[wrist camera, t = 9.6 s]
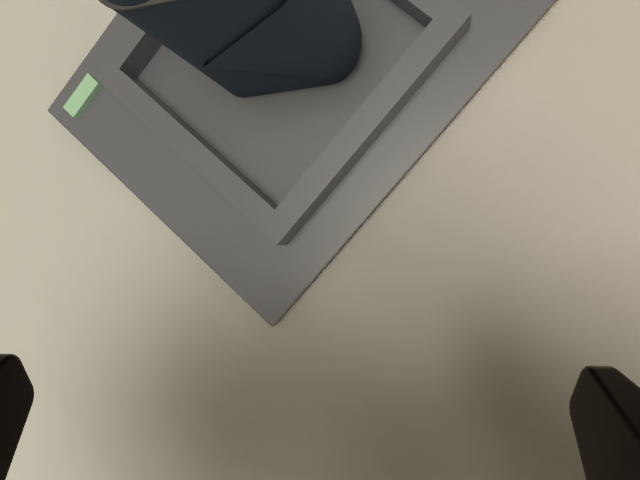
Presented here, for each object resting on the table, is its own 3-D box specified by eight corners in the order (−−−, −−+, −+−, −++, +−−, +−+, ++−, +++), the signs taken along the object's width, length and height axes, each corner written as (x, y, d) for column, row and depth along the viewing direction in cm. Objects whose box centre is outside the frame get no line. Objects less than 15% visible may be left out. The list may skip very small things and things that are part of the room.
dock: (275, 324, 18) (260, 332, 17) (54, 112, 20) (25, 102, 19) (560, -4, 16) (571, -28, 15) (282, -202, 18) (268, -241, 17)
